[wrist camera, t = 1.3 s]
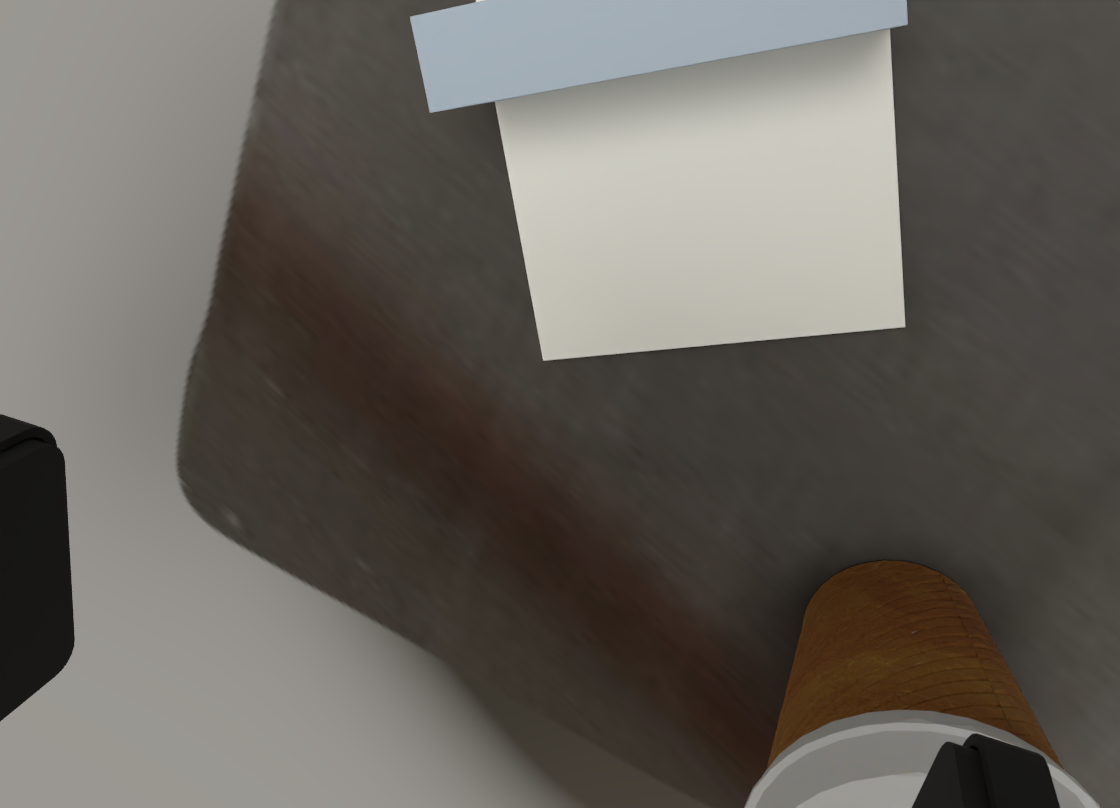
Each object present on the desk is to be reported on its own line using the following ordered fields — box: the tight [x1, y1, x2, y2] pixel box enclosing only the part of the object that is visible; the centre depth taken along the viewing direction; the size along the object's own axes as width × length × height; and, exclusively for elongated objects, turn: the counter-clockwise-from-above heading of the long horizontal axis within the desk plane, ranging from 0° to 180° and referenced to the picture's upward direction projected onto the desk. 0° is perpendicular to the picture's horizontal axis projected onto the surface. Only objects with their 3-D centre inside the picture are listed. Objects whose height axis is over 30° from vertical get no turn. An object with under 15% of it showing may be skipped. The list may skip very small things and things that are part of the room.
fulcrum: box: [410, 0, 908, 361], centre depth 25 cm, size 12×20×6 cm, turn 10°
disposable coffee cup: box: [744, 560, 1100, 808], centre depth 28 cm, size 10×10×12 cm
